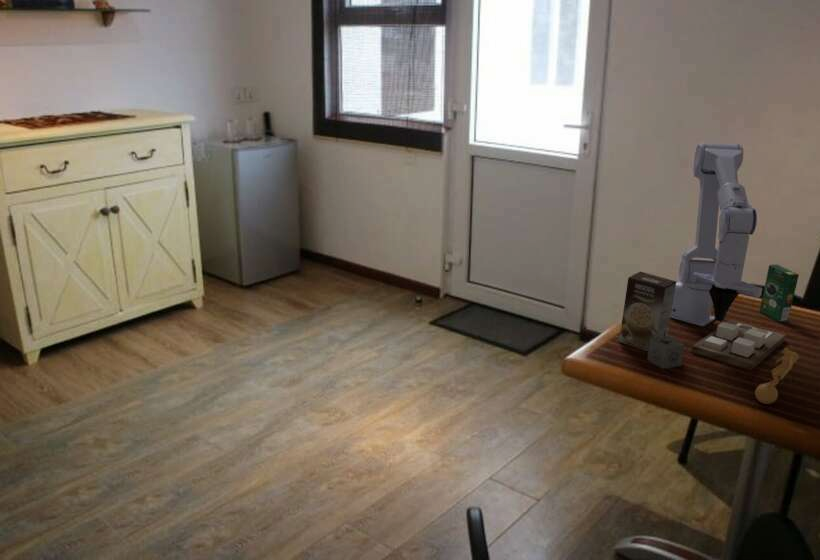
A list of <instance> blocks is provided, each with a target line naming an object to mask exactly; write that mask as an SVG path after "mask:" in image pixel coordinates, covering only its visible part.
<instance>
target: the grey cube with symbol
mask: <svg viewBox="0 0 820 560" xmlns="http://www.w3.org/2000/svg"><path fill="white" fill-rule="evenodd" d="M684 350H685V344H684V343H682V342H680V341H679V340H676V339H674V338H673V337H671V336H668V335H667V337H661V338H655V339H650V345H649V352H648V351H647V359H646V360H647V361H648V360H649V361H648V362H650V361H651V362H650V363H652V364H653V363H654V365H655V364H656V365H655V366H657V365H658V366H657V367H659V368H660V367H661V368H660V369H662V368H663V369H662V370H665V369H664V368H667V369H670V368H671V367H672V368H676V366H678V367H682V363H683V357H684V352H685V351H684Z"/></svg>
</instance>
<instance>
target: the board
mask: <svg viewBox="0 0 820 560" xmlns="http://www.w3.org/2000/svg"><path fill="white" fill-rule="evenodd" d="M726 323H730V324H734V325H737V326H739V329H738V335H737V337H736V338H734V339H733V340H732V341H731V340H728V339H724V338H721V337H717V336H716V333H717V328H716V329H714V330H713V331H712V332H710V333H709V334H708V335H706V336H705V337H703V338H701V339H700V340H699V341H697V342H695V344H693V345H692V348H691V353H692V352H693V354H695V355H699V354H700V355H699V356H702V355H703V356H704V357H705V356H706V357H705V358H709V359H712V360H715V361H719V362H722V363H726V364H728V365H733V366H735V367H738V368H742V369H745V370H748V371H752V370H754V368H755V367H757V366H758V365H760V363H761V362H762V361H764V360H765V359H766V358H767V357H768V356H769V355H770V354H772V352H774V351H775V350H776V349H777V348H778V347H779V346H781V345H782V344H783V343H784V342H785V339H786V336H787V335H786V333H781V332H778V331H777V332H776V331H773V330H771V329H770V330H769V329H765V328H761V327H758V326H754V325H751V324H748V323H744V322H740V321H736V320H731V319H729V320H727V321H726ZM749 329H752V330H756V331H759V332H763V333H766V337H765V342H764V344H763V345H762V346H761V347H760V348H756V347H755V348H754V353H753V354H751V355H750V356H749V357H745V356H741V355H738V354H735V353H731V350H732V345H733V341H735V340H736V339H737V338H739V337H740V338H743V337H744V333H745V332H746V331H748V330H749ZM710 336H713V337H716V338H720V339H723V340H727V343H726V348H725V349H723V350H722V351H719V350H716V349H712V348H709V347H706V346H704V342H705V340H706V339H707V338H709V337H710ZM703 356H702V357H703Z"/></svg>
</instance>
